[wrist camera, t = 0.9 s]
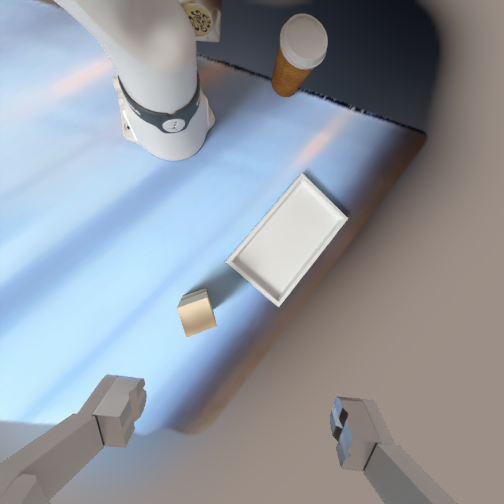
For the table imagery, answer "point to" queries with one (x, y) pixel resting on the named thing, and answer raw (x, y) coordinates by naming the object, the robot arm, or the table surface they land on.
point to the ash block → (196, 312)
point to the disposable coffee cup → (298, 53)
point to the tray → (287, 240)
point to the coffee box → (204, 18)
